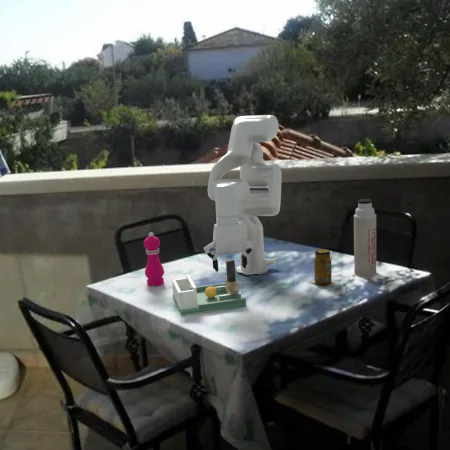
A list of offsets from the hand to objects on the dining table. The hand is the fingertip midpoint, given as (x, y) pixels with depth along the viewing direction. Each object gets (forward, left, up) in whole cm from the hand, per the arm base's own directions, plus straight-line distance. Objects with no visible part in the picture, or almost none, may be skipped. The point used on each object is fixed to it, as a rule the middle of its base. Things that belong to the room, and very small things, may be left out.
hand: (230, 268), depth 216 cm
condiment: (-35, -2, -11) cm, 37 cm away
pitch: (+8, 0, -11) cm, 14 cm away
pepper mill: (+23, -26, -11) cm, 37 cm away
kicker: (0, 0, -9) cm, 9 cm away
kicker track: (+1, 0, -10) cm, 10 cm away
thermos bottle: (-53, -6, -11) cm, 54 cm away
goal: (+16, 0, -10) cm, 19 cm away
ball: (+7, 0, -8) cm, 10 cm away
